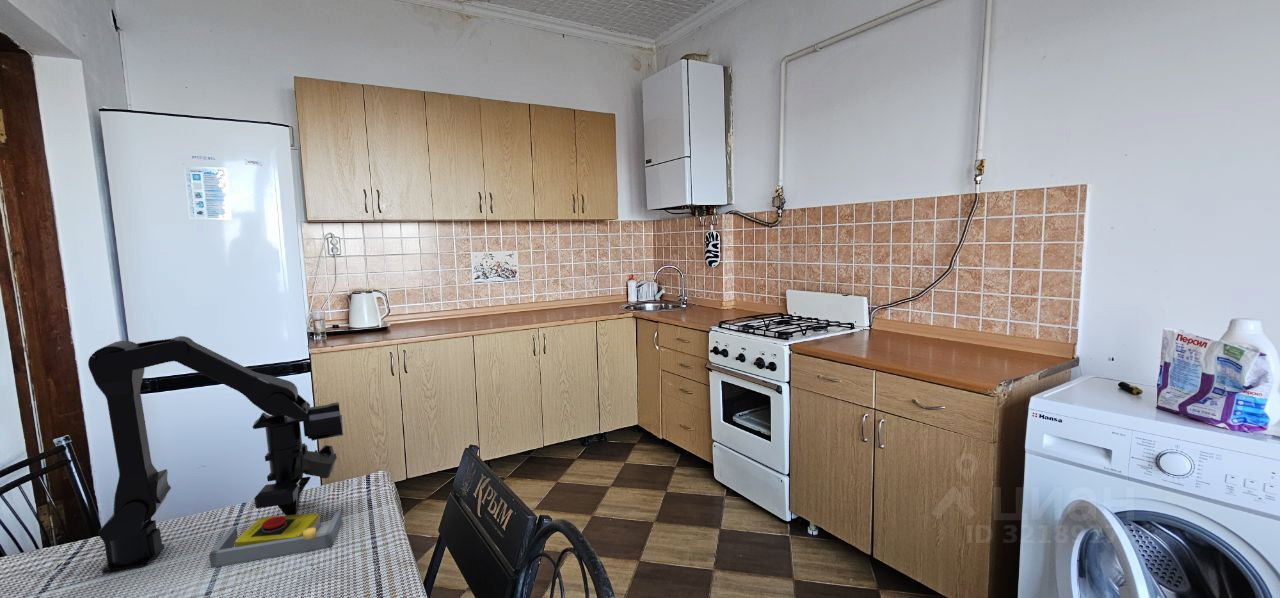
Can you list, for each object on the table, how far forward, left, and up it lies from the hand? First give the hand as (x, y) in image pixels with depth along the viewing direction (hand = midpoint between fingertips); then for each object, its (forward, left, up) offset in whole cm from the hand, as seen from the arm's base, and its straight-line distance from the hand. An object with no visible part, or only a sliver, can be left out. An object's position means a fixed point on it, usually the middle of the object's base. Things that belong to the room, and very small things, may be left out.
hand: (293, 518), depth 110 cm
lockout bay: (0, -7, -1) cm, 7 cm away
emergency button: (0, -6, -2) cm, 6 cm away
